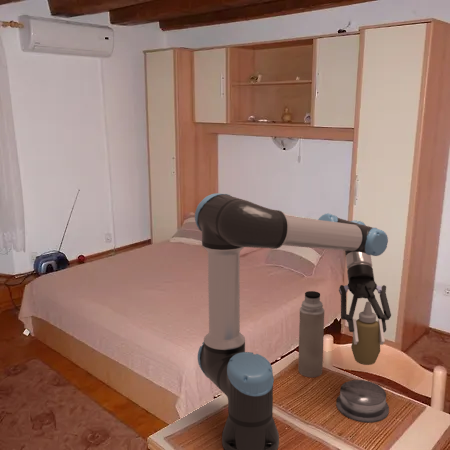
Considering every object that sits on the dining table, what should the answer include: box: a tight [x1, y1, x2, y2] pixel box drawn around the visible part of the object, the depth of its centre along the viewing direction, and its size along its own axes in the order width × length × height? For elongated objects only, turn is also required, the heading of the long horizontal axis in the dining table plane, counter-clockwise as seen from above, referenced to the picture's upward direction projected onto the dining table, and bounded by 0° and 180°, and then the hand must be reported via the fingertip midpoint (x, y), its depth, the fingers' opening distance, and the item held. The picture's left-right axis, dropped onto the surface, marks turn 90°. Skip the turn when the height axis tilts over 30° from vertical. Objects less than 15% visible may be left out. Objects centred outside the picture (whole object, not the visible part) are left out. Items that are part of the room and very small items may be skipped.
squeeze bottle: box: [350, 301, 381, 366], centre depth 140 cm, size 8×8×18 cm
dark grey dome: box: [335, 379, 390, 424], centre depth 145 cm, size 15×15×5 cm
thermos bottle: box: [297, 290, 325, 378], centre depth 162 cm, size 8×8×28 cm
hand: (369, 342), depth 137 cm, fingers closed on squeeze bottle, 6 cm apart
